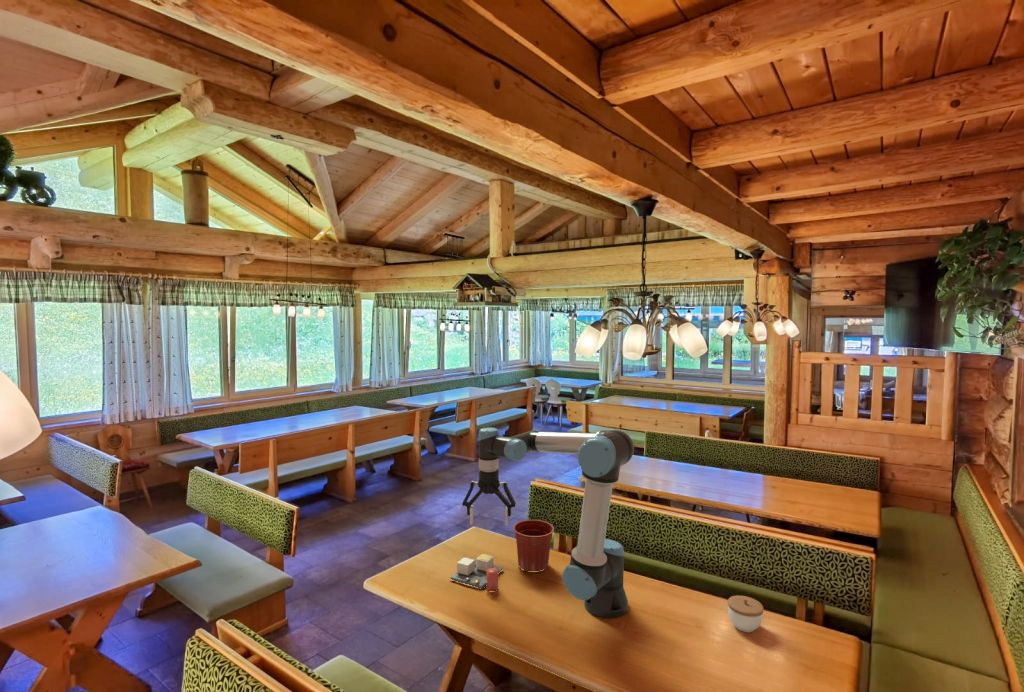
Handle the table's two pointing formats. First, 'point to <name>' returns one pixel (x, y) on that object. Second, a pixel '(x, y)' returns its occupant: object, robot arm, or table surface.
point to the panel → (474, 577)
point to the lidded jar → (745, 613)
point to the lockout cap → (492, 579)
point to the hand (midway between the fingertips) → (489, 523)
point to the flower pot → (533, 544)
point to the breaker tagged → (484, 562)
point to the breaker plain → (465, 566)
